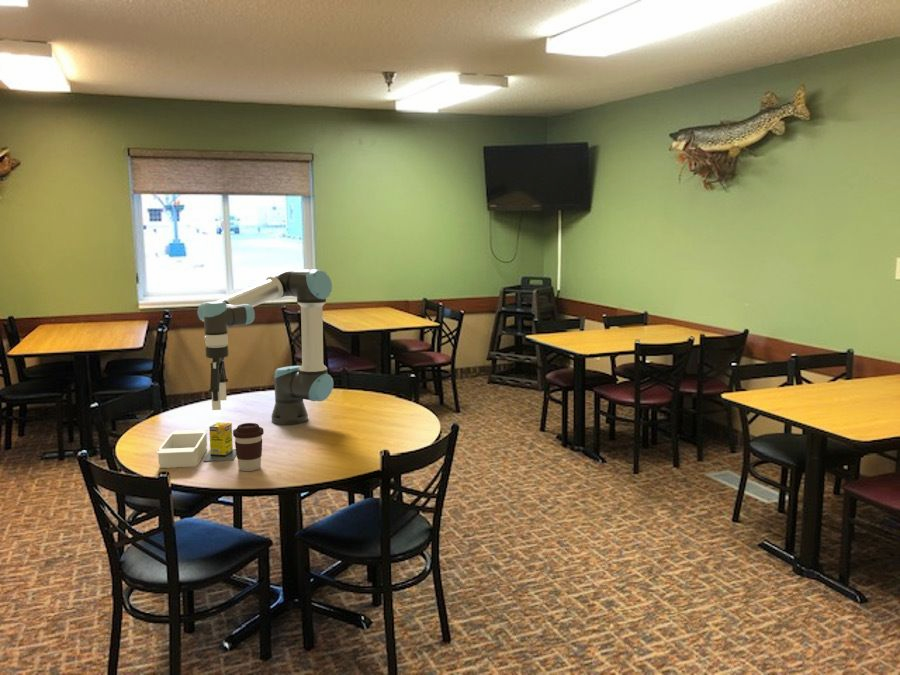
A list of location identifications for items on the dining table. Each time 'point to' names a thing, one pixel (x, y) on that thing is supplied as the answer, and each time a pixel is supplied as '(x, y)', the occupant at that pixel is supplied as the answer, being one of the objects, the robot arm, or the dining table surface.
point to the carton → (183, 449)
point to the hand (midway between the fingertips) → (219, 404)
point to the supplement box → (221, 439)
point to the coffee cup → (248, 446)
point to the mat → (217, 458)
